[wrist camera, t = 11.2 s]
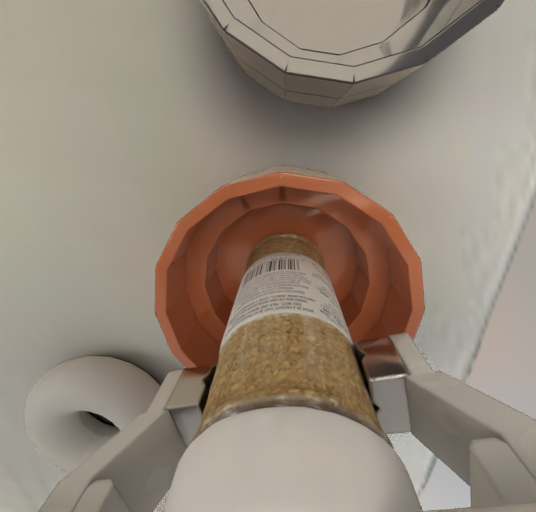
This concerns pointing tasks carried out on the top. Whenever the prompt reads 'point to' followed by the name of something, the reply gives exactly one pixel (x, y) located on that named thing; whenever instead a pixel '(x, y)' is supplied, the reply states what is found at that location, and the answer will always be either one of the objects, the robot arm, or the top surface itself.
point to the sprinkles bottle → (289, 404)
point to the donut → (84, 406)
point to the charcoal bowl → (339, 42)
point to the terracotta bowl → (285, 221)
